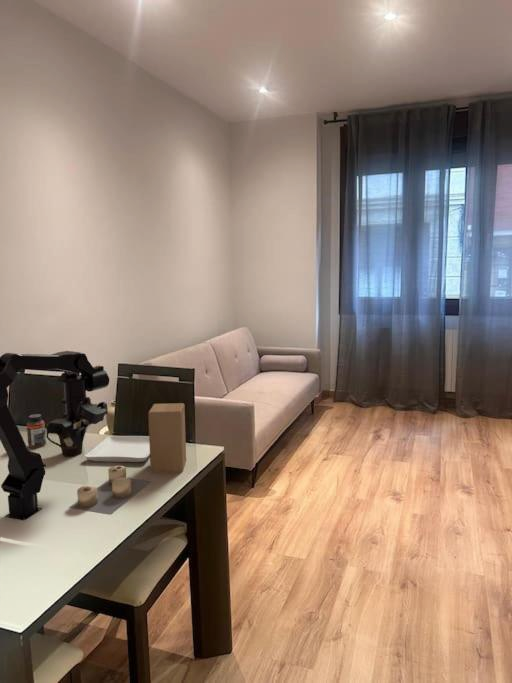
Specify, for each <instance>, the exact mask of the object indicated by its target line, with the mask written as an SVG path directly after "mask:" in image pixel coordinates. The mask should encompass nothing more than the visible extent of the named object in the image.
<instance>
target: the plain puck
mask: <svg viewBox="0 0 512 683" xmlns="http://www.w3.org/2000/svg"><path fill="white" fill-rule="evenodd" d="M129 478H130V477H126V478H118V479H115V480H113V481H112V491H113V498H115V499H124V498H128V497H129V496H131V480H130V479H129Z"/></svg>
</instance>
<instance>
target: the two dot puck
mask: <svg viewBox="0 0 512 683" xmlns="http://www.w3.org/2000/svg"><path fill="white" fill-rule="evenodd" d="M107 470H108V480H109V484H110V485H112V481H113V480H115V479H118V478H127V467H126V466H123V465H115V466H112V467H110V468H108V469H107Z"/></svg>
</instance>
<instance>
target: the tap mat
mask: <svg viewBox="0 0 512 683" xmlns="http://www.w3.org/2000/svg"><path fill="white" fill-rule="evenodd" d="M128 478H129V479H130V480H131V496H129V497H128V498H124V499H115V498H113V491H112V485H110V484H109V479H108V480H105V482H104V483H102V484H101V485H99V486H97V497H98V503H97V504H96V505H95V506H92V507H89V508H81V507H79V506H78V500H77V501H76V502H75V503H73V504H72V505H70V506H69V507H68V509H74V510H79V511H84V512H85V511H86V512H93V513H97V514H102V515H103V514H104V515H109V516H110V515H112V514H114V513H115V512H117V511H118V509H120V508H121V507H122V506H124V505H125V504H126V503H128V502H129V501H130V500H131V499H132V498H134V496H136V495H137V494H138V493H140V492H141V491H142V490H144V489H145V488H146V487H147V486H149V484H151V483H153V481H152V480H148V479H140V478H133V477H132V478H131V477H128Z"/></svg>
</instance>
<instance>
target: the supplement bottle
mask: <svg viewBox="0 0 512 683" xmlns="http://www.w3.org/2000/svg"><path fill="white" fill-rule="evenodd" d="M45 425H46V423H45V421H44V420H43V419H42V414H40V413H39V414H38V413H35V414H31V415H29V416H28V421H27V422H26V433H27V434H26V435H27V445H28V447H29V448H31V449H38V448H42V447H44V446H45V445H46V444H47V439H46V438H47V437H46V435H47V434H46V426H45Z"/></svg>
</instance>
